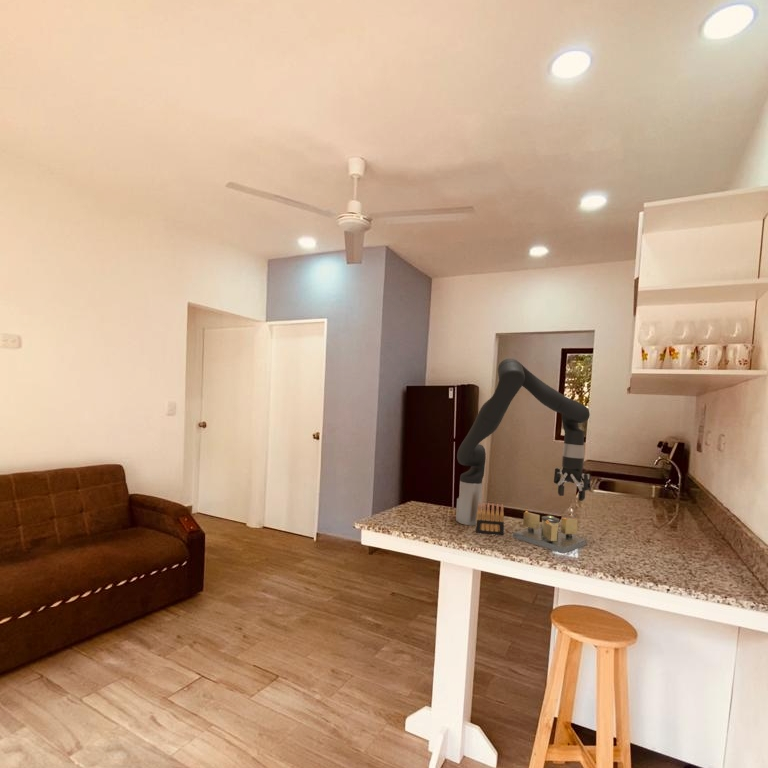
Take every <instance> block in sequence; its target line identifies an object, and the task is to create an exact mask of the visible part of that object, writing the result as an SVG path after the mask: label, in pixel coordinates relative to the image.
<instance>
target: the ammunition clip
mask: <svg viewBox="0 0 768 768" xmlns="http://www.w3.org/2000/svg"><path fill="white" fill-rule="evenodd" d="M490 509H491V510H490ZM504 511H505V510H504V504H503V503H502V504H501V505H500V504H499V503H497V504H496V506H495V504H494V502H492V504H491V505H490V502H488V503H487V504H486V503H485V502H484V501H483V503H481V504H480V502H479V504H478V511H477V520H476V525H475V534H480V533H481V535H492V534H495V535H494V536H496V535H497V536H505V535H504V534H505V533H504V532H505V530H504V528H505V527H504V524H505V523H504V521H505V520H504V519H505V514H504V513H505V512H504Z"/></svg>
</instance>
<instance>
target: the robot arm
mask: <svg viewBox="0 0 768 768" xmlns="http://www.w3.org/2000/svg"><path fill="white" fill-rule="evenodd" d="M497 374H498V375H497V376H498V381H497V386H496V388H495V391H494V393H493V395H492V396H491V397H490V398H489V399H487V400H486V401H485V402H484V403H483V404H482V406H481V407H480V410H479V411H478V413H477V415H476V418H475V420H474V422H473V424H472V426H471V428H470V429H469V430H468V433H467V435H466V436H465V438H464V439H463V441H462V442H461V444H460V445H459V447H458V450H457V454H456V459H457V462H458V464H460V465H462V466H465V467H467V466H470V468H469V469H468V470H467V471H465V472H463V473H461V474H460V476H459V491H458V492H459V494H458V495H459V496H458V497H457V498H456V508H455V509H456V511H455V512H456V513H455V521H456V522H458V523H459V524H460V525H461V524H462V525H464V526H465V525H466V526H472V527H473V526H475V527H476V520H477V511H478V504H479V502H480V504H481V505H482V489H483V488H482V487H483V478H484V475H485V470H486V469H485V468H486V454H487V453H486V449H485V447H484V445H482V444H481V442H482V441H483V440H485V439H486V438H488V437H490V436H491V435H492V434H494V433H495V431H496V430H497V429H498V428H499V426H500V424H501V422H502V421H503V418H504V416H505V414H506V412H507V410H508V408H510V407H509V406H510V404H511V403H512V401H513V400H514V398H515V396H516V395H517V394H518V393H519V391H520V389H521V388H522V387H523V388H524V389H525V390H527V391H528V392H529V393H530V394H531V395H532V396H533V397H534V398H535V399H536V400H537V401H538V402H539V403H541V404H542V405H544V406H545V407H546V408H548V409H550V410H551V411H553V412H555V413H559V414H561V420H562V427H563V430H564V434H563V435H564V437H563V438H564V439H563V446H562V447H563V448H562V458H561V459H562V461H561V466H562V468H561V467H556V468H555V469H554V474H553V475H554V477H553V484H556V485H558V486H557V493H558V496H559V497H560V496H561V497H562V496H564V495H565V484H566V483H571V484H572V483H573V484H575V486H577V489H578V497H577V498H578V502H579V501H580V502H583V501H584V500H585V499H586V491H590V490H591V486H592V485H591V481H592V480H591V479H592V478H591V474H590V473H584V472H583V471H584V459H585V458H584V457H585V446H584V445H585V433H584V430H582V429H580V427H579V424H582V423H586V422H587V421H588V420H589V418H590V415H591V413H590V410H589V409H588V408H587V406H586V405H584V403H581V402H578V401H577V400H575V399H572V398H569V397H567V396H565V395H564V394H562V393H561V392H559V391H558V390H556V389H555V388H553V387H551V386H550V385H549V384H546V383H545V382H544V381H542V380H541V379H539V378H538V377H537V376H536V375H535V374H533V373H532V372H531V371H529V370H528V368H526V367H525V366H524V365H523V364H522V363H520V361H518V360H517V359H514V358H505V359H503V360H502V361H501V362H499V364H498V367H497ZM582 479H583V480H582Z"/></svg>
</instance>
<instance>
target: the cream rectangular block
mask: <svg viewBox="0 0 768 768" xmlns="http://www.w3.org/2000/svg"><path fill="white" fill-rule="evenodd" d="M578 522H579V521H578V519H576V518H567V517H564V518H561V528H560V530H561V531H560V532H561V533H563V534H566V536H567V537H572V536H573V535H577V534H578Z"/></svg>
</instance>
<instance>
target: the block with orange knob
mask: <svg viewBox="0 0 768 768" xmlns="http://www.w3.org/2000/svg"><path fill="white" fill-rule="evenodd" d="M540 517H541V515H540V514H537V513H532V512H529V511H528V510H525V512H523V521H522V522H523V525H522V526H524V527H526V528H527V529H528V530H529V531H534V529H539V527H540Z"/></svg>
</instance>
